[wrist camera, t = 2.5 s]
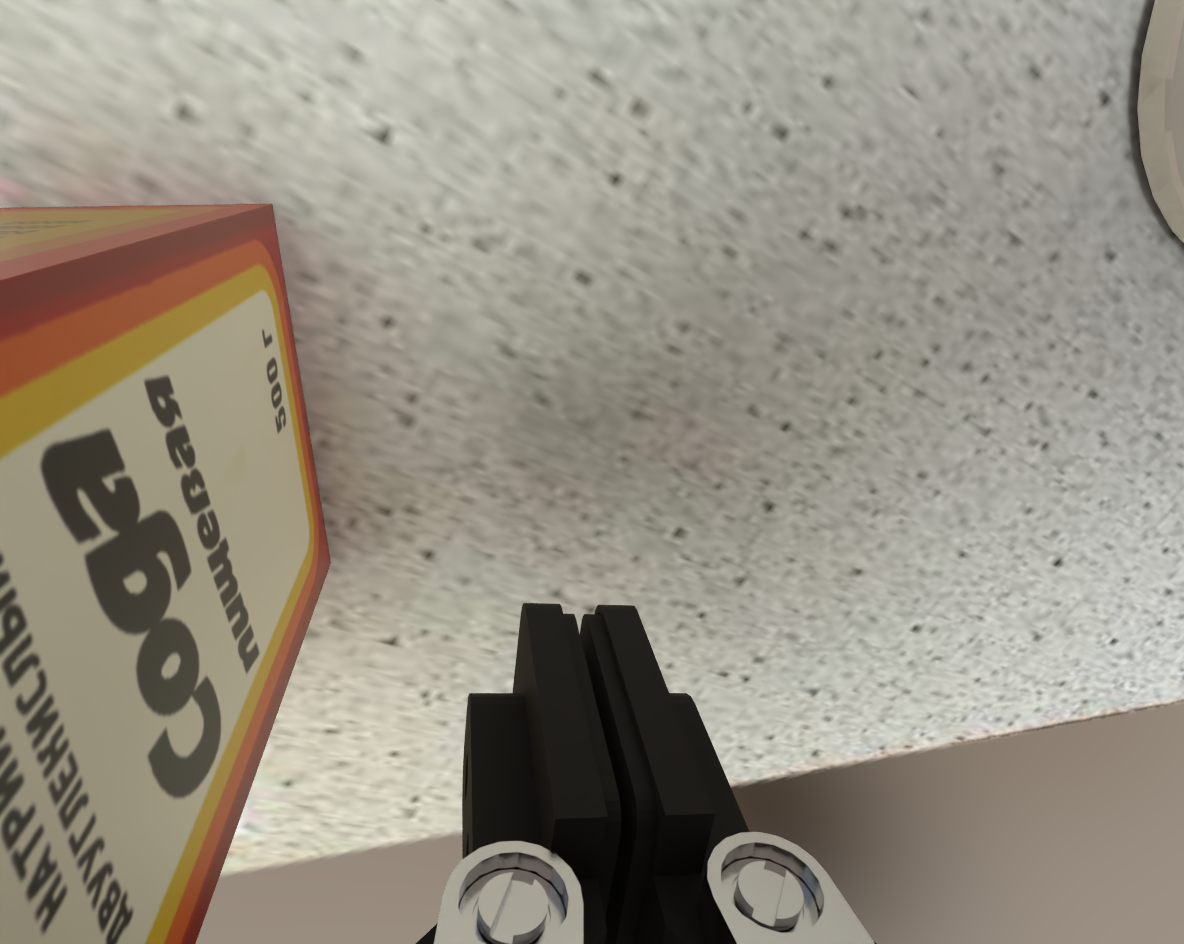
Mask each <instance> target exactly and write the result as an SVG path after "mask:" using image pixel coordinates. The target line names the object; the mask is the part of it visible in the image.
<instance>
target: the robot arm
mask: <svg viewBox="0 0 1184 944" xmlns="http://www.w3.org/2000/svg"><path fill="white" fill-rule="evenodd" d="M1137 110H1138V122H1139V134H1140V146H1141V157H1142V160H1143V164H1144V167H1145V171H1146V174H1147V178H1148V181H1149V185H1150V188H1151V191H1152V195H1153V198H1154V200H1155V202H1156V203H1157V205H1158V207H1159V209H1160V210H1161V212H1162V214H1163V216H1164V218H1165V219H1166V221H1167V223H1168V225H1169V226H1170V228H1171V230H1172V231H1173V232H1174V234H1175V235H1176V236H1177V237H1178V238H1179V239H1180V240H1181V241H1182V242H1183V243H1184V0H1155V3H1154V7H1153V11H1152V15H1151V19H1150V23H1149V28H1148V32H1147V36H1146V40H1145V44H1144V48H1143V53H1142V60H1141V72H1140V83H1139V95H1138V106H1137ZM462 817H463V860H462V861H461V862H460V864H459V865H458V866H457V867H456V868H455V870H454V871H453V872H452V873H451V875H450V877H449V880H448V883H447V885H446V888H445V891H444V893H443V899H442V904H441V909H440V914H439V919H438V923H437V924H436V926H434V927H433V928H432V929H431V930H430V931H429V932H428V933H427V934H426V935H425V936H424V937H422V938H421V939H420V940H419V941H418V942H417V943H416V944H876V943H875V942H873V941H872V939H871V938H870V936H869V935H868V933H867V932H866V930H865V929H864V927H863V926H862V924H861V923H860V921H859V920H858V918H857V917H856V915H855V914H854V912H853V911H852V910H851V908H850V907H849V905H848V904H847V902H846V901H845V899H844V898H843V896H842V895H841V893H840V892H839V890H838V889H837V887H836V886H835V884H834V883H833V882H832V880H831V878H830V877H829V876H828V874H827V873H826V872H825V870H824V869H823V868H822V867H821V866H820V865H819V863H818V862H817V861H816V860H815V859H814V858H813V857H812V856H811V855H809V854H808V853H807V852H805V851H804V850H802V849H801V848H800V847H799V846H797V845H796V844H793V843H791V842H789V841H787V840H785V839H783V838H781V837H778V836H775V835H770V834H766V833H761V832H749V830H748V827H747V825H746V823H745V820H744V818H743V816H742V813H741V811H740V809H739V806H738V804H737V802H736V799H735V797H734V794H733V792H732V790H731V787H730V785H729V783H728V780H727V778H726V776H725V773H724V771H723V769H722V766H721V764H720V762H719V759H718V757H717V754H716V752H715V750H714V747H713V745H712V743H711V740H710V738H709V736H708V733H707V731H706V729H705V726H704V724H703V722H702V719H701V717H700V715H699V712H698V710H697V707H696V705H695V703H694V701H693V700H692V698H691V696H689V695H688V694H686V693H669V692H668V689H667V687H666V684H665V682H664V679H663V676H662V674H661V671H660V669H659V666H658V663H657V661H656V658H655V656H654V653H653V650H652V648H651V645H650V643H649V640H648V637H647V635H646V632H645V630H644V627H643V624H642V622H641V619H640V617H639V614H638V612H637V609H636V608H635V606H626V605H598V606H597V607H596V610H595V614H584V616H583V618H582V623H581V630H580V634H579V630H578V626H577V622H576V618H575V615H574V614H563V612H562V608H561V605H560V604H538V603H523V606H522V611H521V619H520V628H519V638H518V647H517V657H516V666H515V676H514V685H513V693H469V697H468V705H467V717H466V729H465V743H464V761H463V798H462Z"/></svg>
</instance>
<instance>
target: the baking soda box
mask: <svg viewBox="0 0 1184 944" xmlns="http://www.w3.org/2000/svg"><path fill="white" fill-rule="evenodd" d="M330 564H331V562H330V555H329V549H328V543H327V537H326V531H325V525H324V519H323V513H322V506H321V500H320V494H319V488H318V482H317V476H316V470H315V464H314V457H313V451H312V445H311V439H310V433H309V427H308V421H307V415H306V408H305V402H304V396H303V390H302V384H301V378H300V372H299V366H298V360H297V353H296V347H295V341H294V335H293V329H292V323H291V317H290V311H289V304H288V298H287V292H286V286H285V280H284V274H283V268H282V262H281V255H280V249H279V243H278V237H277V231H276V225H275V219H274V213H273V206H272V204H232V205H167V206H102V207H36V208H0V944H195V943H196V940H197V937H198V935H199V932H200V929H201V926H202V924H203V920H204V918H205V915H206V912H207V910H208V907H209V904H210V901H211V898H212V895H213V893H214V890H215V887H216V884H217V881H218V879H219V876H220V873H221V870H222V867H223V865H224V862H225V859H226V856H227V853H228V850H229V848H230V845H231V842H232V839H233V836H234V834H235V831H236V828H237V825H238V822H239V820H240V817H241V814H242V811H243V808H244V805H245V803H246V800H247V797H248V794H249V791H250V789H251V786H252V783H253V780H254V777H255V775H256V772H257V769H258V766H259V763H260V760H261V758H262V755H263V752H264V749H265V746H266V744H267V741H268V738H269V735H270V732H271V730H272V727H273V724H274V721H275V718H276V715H277V713H278V710H279V707H280V704H281V701H282V699H283V696H284V693H285V690H286V687H287V685H288V682H289V679H290V676H291V673H292V670H293V668H294V665H295V662H296V659H297V656H298V654H299V651H300V648H301V645H302V642H303V640H304V637H305V634H306V631H307V628H308V625H309V623H310V620H311V617H312V614H313V611H314V609H315V606H316V603H317V600H318V597H319V595H320V592H321V589H322V586H323V583H324V580H325V578H326V575H327V572H328V569H329V566H330Z"/></svg>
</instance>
